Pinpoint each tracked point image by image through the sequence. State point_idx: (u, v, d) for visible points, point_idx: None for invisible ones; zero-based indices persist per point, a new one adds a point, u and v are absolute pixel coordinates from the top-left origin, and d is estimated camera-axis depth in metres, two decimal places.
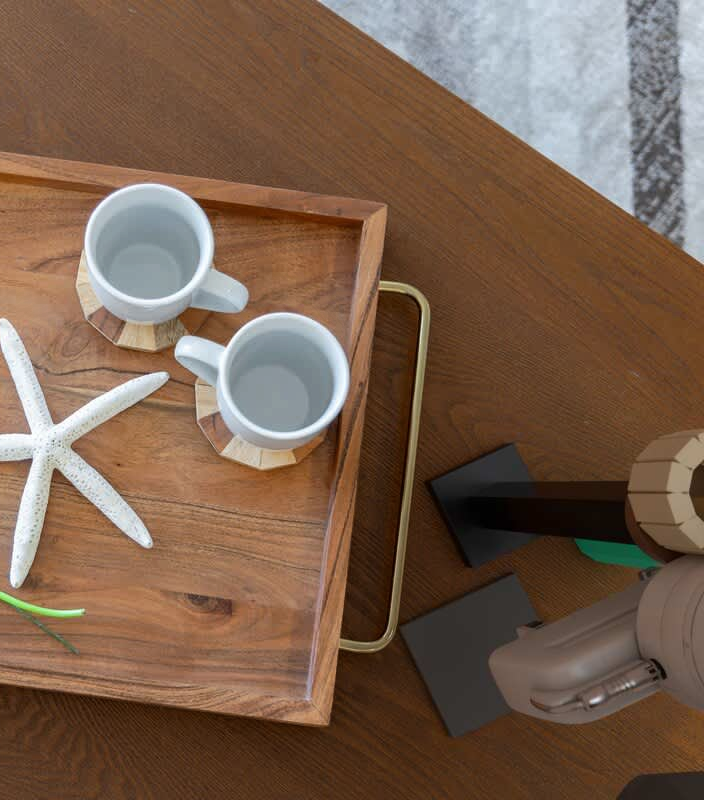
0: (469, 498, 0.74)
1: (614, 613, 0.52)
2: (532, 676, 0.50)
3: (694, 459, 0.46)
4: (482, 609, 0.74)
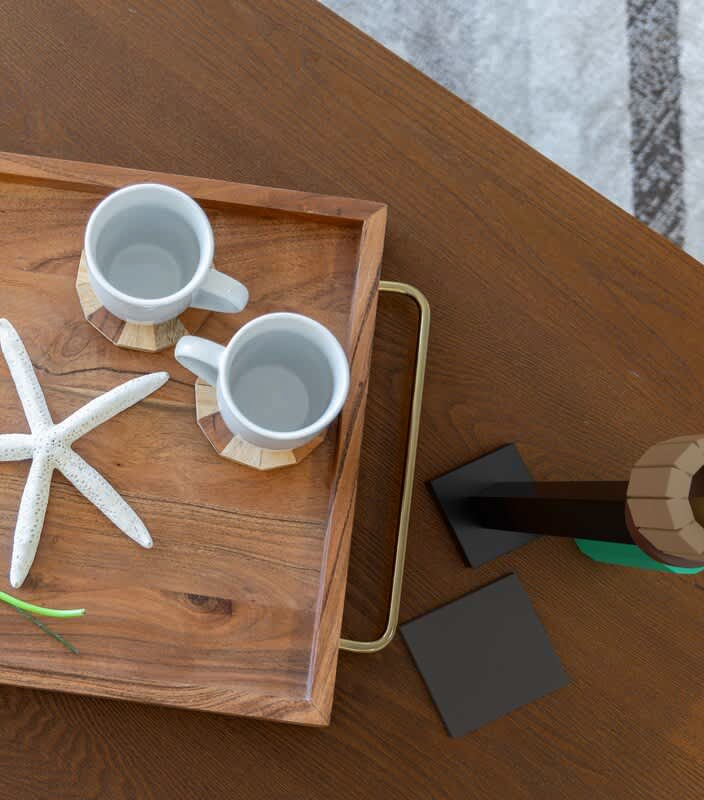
0: (469, 498, 0.74)
1: None
2: None
3: (693, 465, 0.46)
4: (482, 609, 0.74)
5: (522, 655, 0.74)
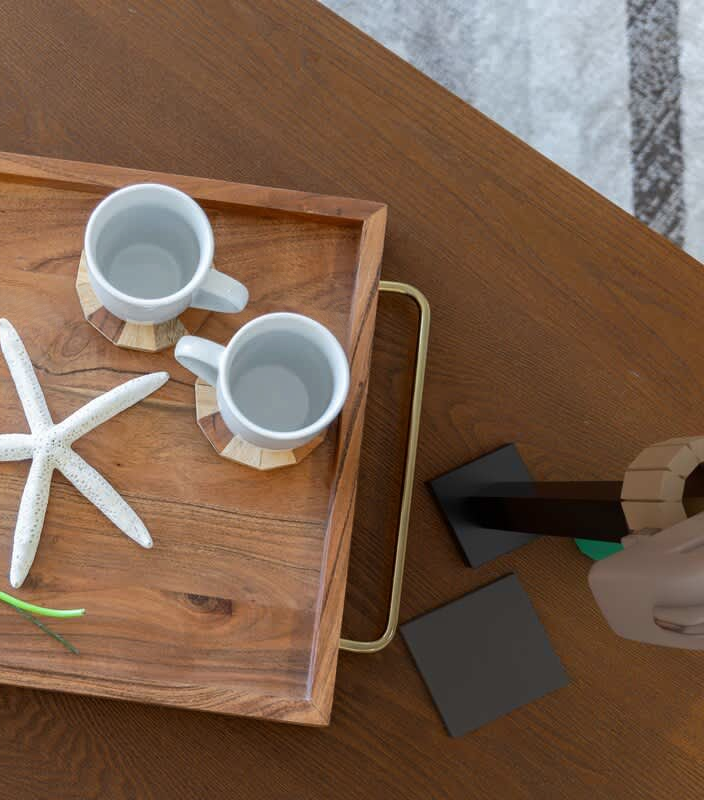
0: (469, 498, 0.74)
1: None
2: (656, 589, 0.38)
3: (686, 467, 0.46)
4: (482, 609, 0.74)
5: (522, 655, 0.74)
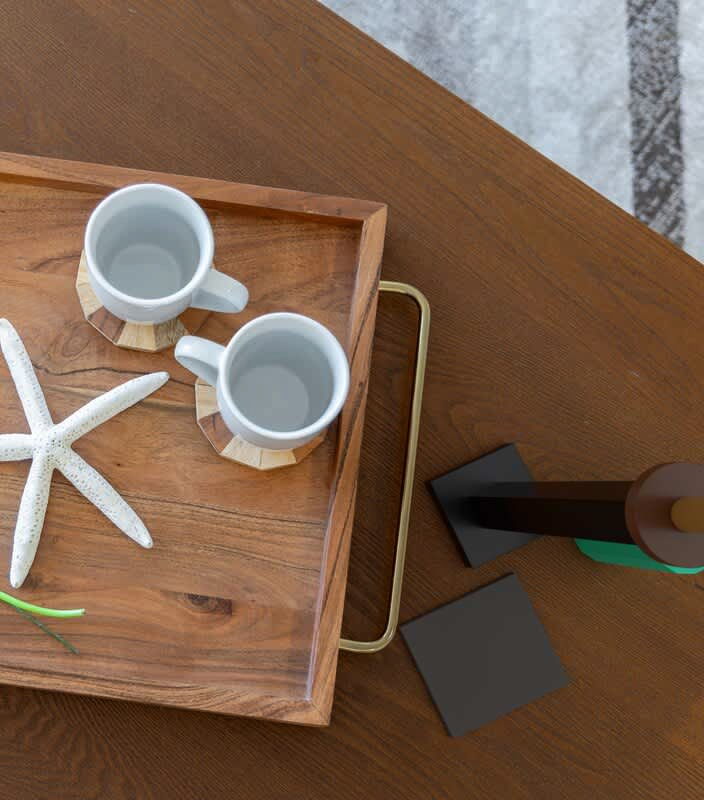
0: (469, 498, 0.74)
1: None
2: None
3: None
4: (482, 609, 0.74)
5: (522, 655, 0.74)
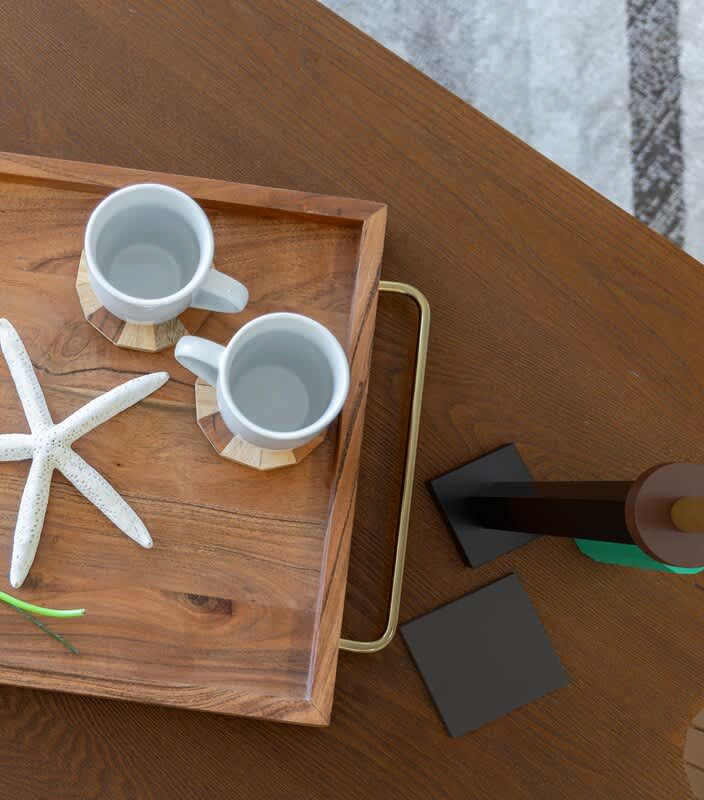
0: (469, 498, 0.74)
1: None
2: None
3: None
4: (482, 609, 0.74)
5: (522, 655, 0.74)
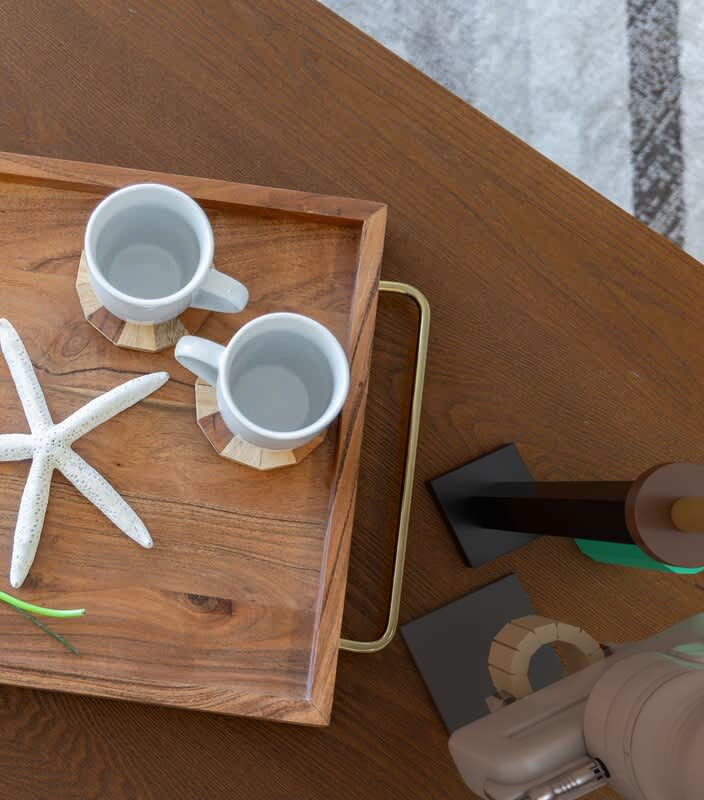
0: (469, 498, 0.74)
1: (566, 701, 0.55)
2: (486, 768, 0.53)
3: (531, 648, 0.61)
4: (482, 609, 0.74)
5: None
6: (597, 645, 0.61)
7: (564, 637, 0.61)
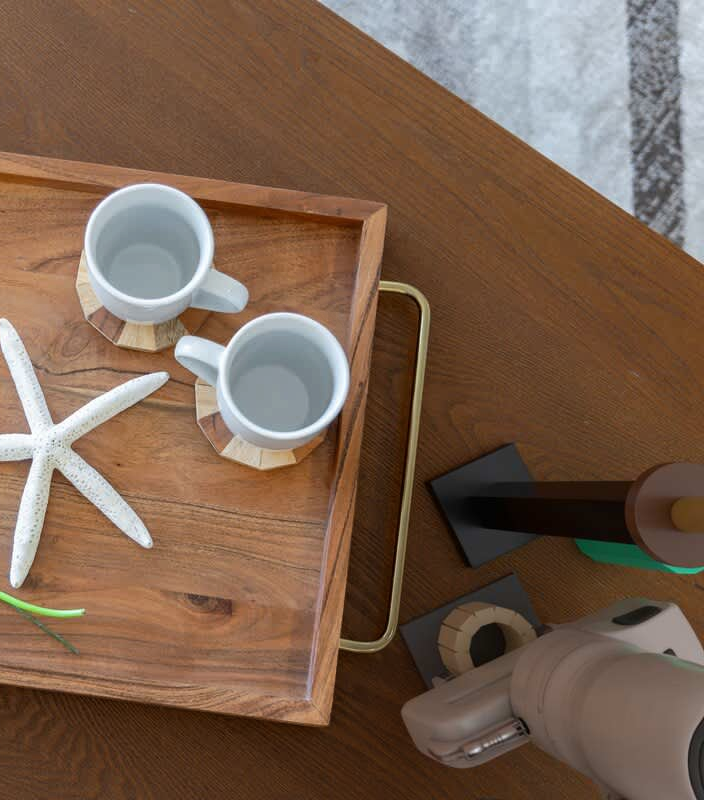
0: (469, 498, 0.74)
1: (500, 674, 0.64)
2: (429, 728, 0.62)
3: (472, 629, 0.70)
4: None
5: None
6: (530, 626, 0.71)
7: (501, 619, 0.71)
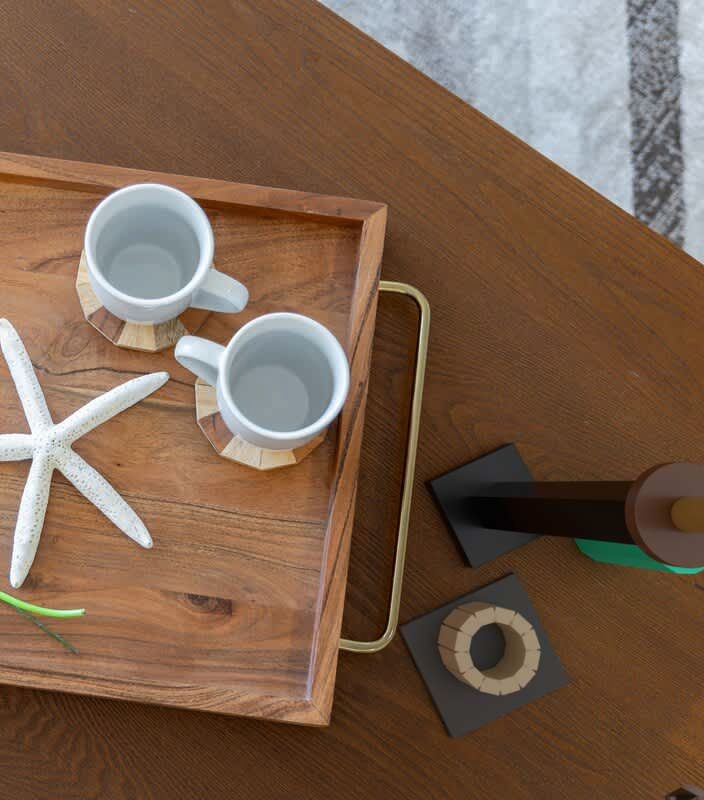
0: (469, 498, 0.74)
1: None
2: None
3: (472, 629, 0.70)
4: None
5: None
6: (530, 626, 0.71)
7: (501, 619, 0.71)
